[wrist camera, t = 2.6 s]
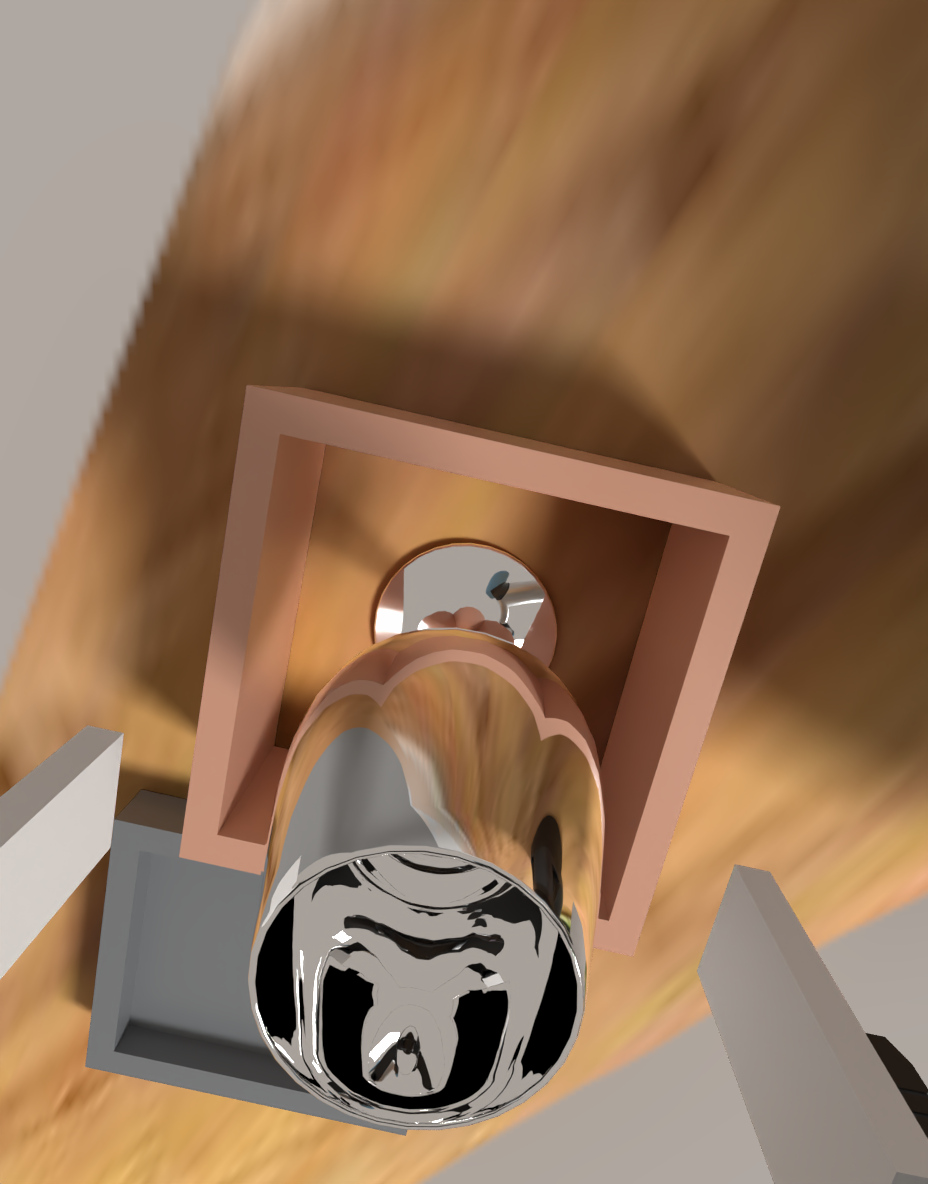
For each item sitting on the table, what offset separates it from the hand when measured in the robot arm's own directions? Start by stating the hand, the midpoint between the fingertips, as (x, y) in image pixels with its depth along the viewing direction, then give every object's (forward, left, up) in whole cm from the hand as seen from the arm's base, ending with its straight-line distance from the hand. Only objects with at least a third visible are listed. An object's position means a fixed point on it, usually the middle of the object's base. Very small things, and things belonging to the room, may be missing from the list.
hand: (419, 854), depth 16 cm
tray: (+5, +17, -16) cm, 24 cm away
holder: (0, 0, -16) cm, 16 cm away
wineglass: (0, 0, -16) cm, 16 cm away
